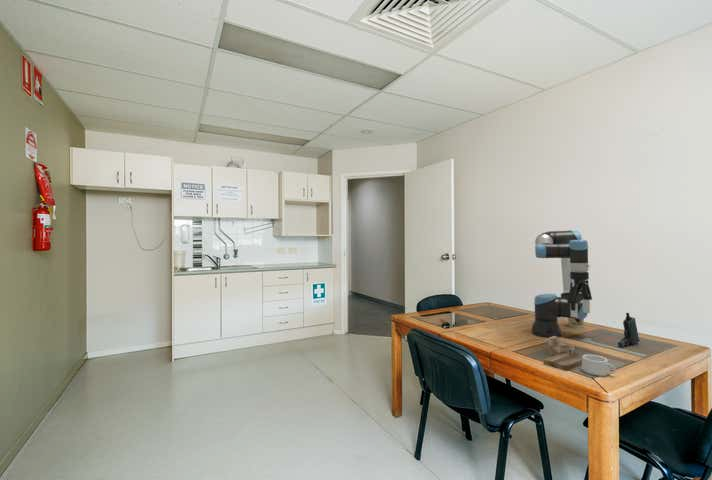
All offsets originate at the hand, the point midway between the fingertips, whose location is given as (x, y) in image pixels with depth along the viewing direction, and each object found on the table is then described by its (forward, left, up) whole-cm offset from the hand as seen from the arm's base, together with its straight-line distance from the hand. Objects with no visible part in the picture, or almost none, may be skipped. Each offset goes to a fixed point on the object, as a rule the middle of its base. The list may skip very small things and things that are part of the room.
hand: (580, 314), depth 160 cm
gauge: (-4, -10, -19) cm, 22 cm away
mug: (+15, -18, -20) cm, 30 cm away
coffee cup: (-26, +49, -19) cm, 59 cm away
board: (+1, -17, -19) cm, 25 cm away
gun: (+7, +32, -19) cm, 38 cm away
